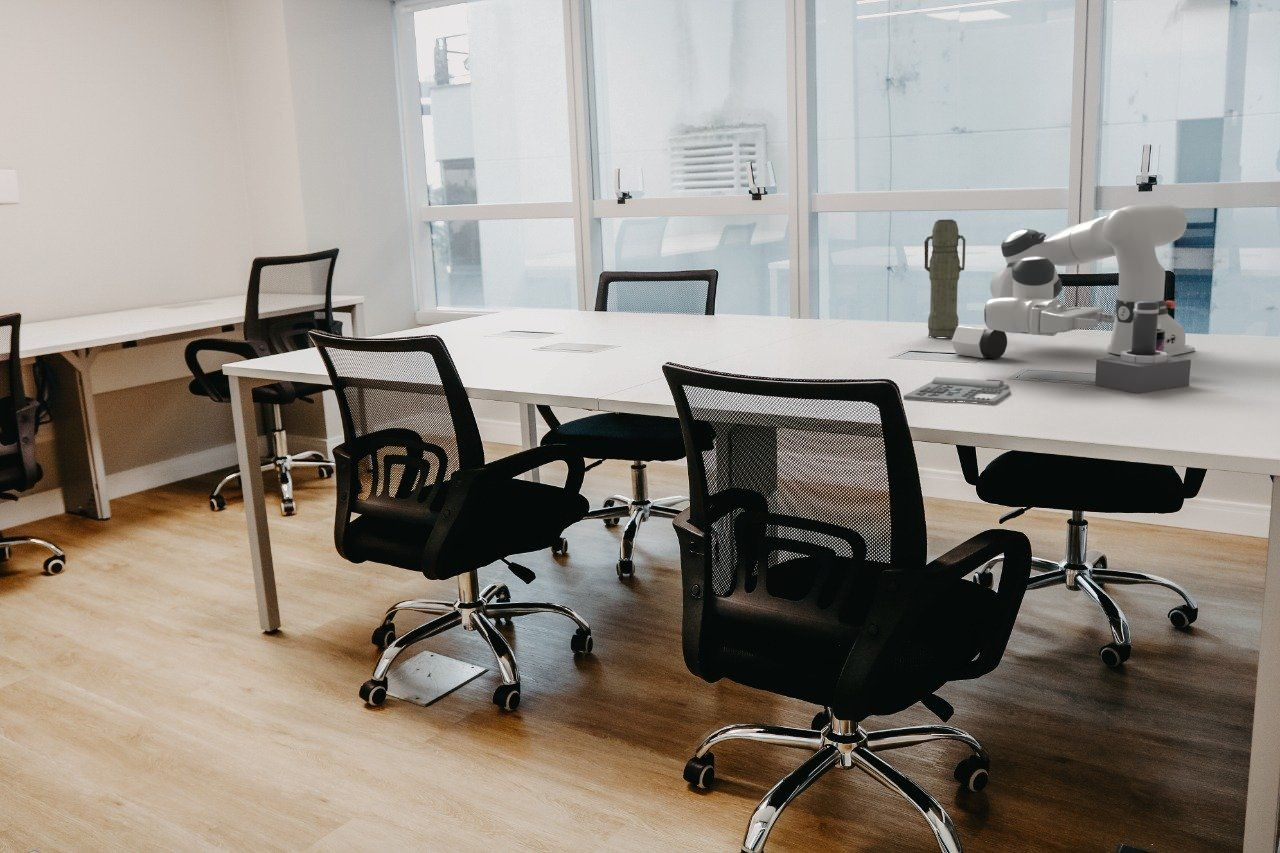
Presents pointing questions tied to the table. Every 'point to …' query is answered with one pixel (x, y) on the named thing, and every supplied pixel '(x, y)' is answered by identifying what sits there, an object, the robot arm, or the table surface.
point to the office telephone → (959, 390)
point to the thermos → (944, 277)
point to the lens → (1144, 328)
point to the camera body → (1142, 372)
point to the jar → (979, 341)
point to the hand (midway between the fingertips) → (1105, 321)
